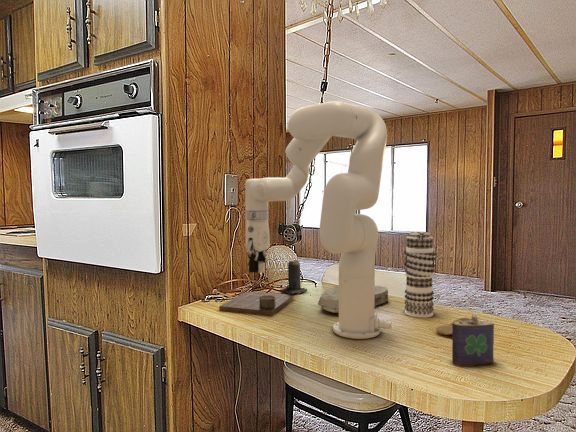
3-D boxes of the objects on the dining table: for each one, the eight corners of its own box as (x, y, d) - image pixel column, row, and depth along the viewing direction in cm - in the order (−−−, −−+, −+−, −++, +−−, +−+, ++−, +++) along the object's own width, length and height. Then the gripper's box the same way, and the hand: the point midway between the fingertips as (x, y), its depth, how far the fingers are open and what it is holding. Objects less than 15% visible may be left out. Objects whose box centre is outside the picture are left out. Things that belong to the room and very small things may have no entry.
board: (293, 299, 144) (293, 295, 144) (271, 316, 125) (271, 311, 125) (246, 295, 150) (246, 291, 150) (219, 310, 132) (219, 305, 132)
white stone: (267, 270, 139) (267, 261, 139) (261, 273, 134) (261, 264, 134) (253, 269, 141) (253, 260, 140) (247, 272, 136) (247, 263, 136)
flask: (489, 359, 92) (490, 312, 91) (497, 364, 89) (498, 316, 89) (449, 361, 91) (450, 314, 91) (456, 367, 88) (456, 318, 88)
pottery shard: (480, 347, 102) (484, 326, 111) (479, 332, 101) (483, 312, 109) (435, 342, 108) (442, 322, 116) (433, 327, 107) (441, 308, 115)
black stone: (277, 305, 132) (277, 296, 131) (271, 309, 127) (271, 300, 127) (263, 303, 133) (263, 294, 133) (256, 308, 129) (256, 298, 128)
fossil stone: (339, 319, 122) (339, 301, 121) (305, 308, 133) (305, 292, 132) (395, 301, 140) (395, 286, 140) (361, 293, 151) (361, 279, 151)
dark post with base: (294, 296, 149) (293, 263, 148) (279, 292, 154) (278, 260, 153) (310, 291, 155) (310, 260, 154) (295, 288, 160) (295, 257, 160)
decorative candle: (419, 319, 120) (420, 234, 119) (396, 311, 129) (397, 231, 127) (441, 315, 125) (442, 232, 123) (418, 307, 133) (419, 230, 131)
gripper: (256, 218, 127) (257, 276, 128) (277, 214, 143) (277, 266, 144) (234, 217, 129) (235, 275, 131) (257, 214, 145) (257, 265, 147)
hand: (257, 270), depth 137 cm, fingers closed on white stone, 5 cm apart
